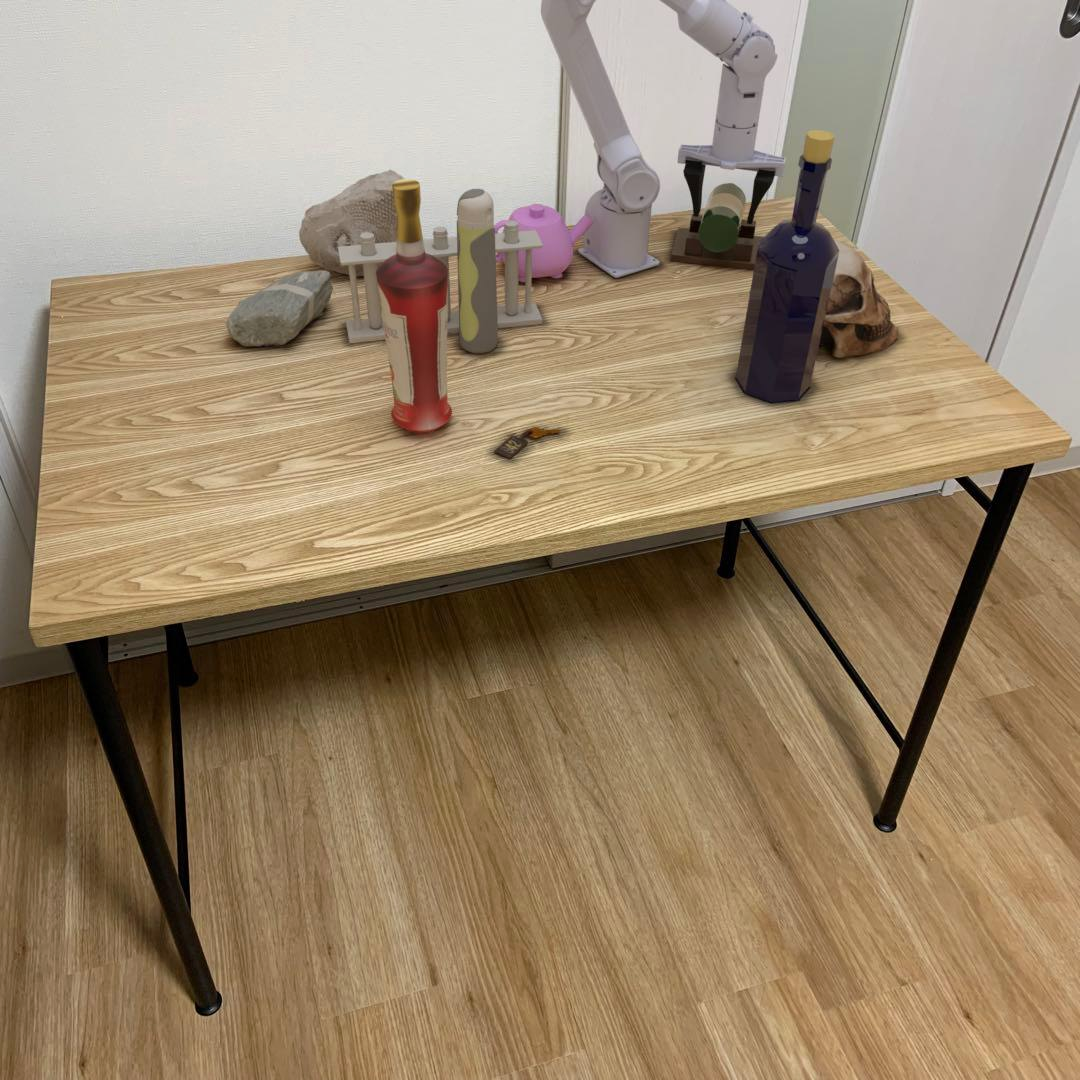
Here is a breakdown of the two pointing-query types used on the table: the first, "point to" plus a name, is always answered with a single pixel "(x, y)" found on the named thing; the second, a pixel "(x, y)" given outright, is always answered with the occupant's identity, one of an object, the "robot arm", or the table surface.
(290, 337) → the decorative stone
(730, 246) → the wine bottle
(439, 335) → the liquor
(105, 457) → the table surface
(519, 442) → the key tag
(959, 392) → the table surface
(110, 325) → the table surface
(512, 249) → the test tube rack
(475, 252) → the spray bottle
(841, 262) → the skull
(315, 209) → the fossil
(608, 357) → the table surface
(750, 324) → the bottle
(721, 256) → the wine rack
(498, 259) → the teapot
